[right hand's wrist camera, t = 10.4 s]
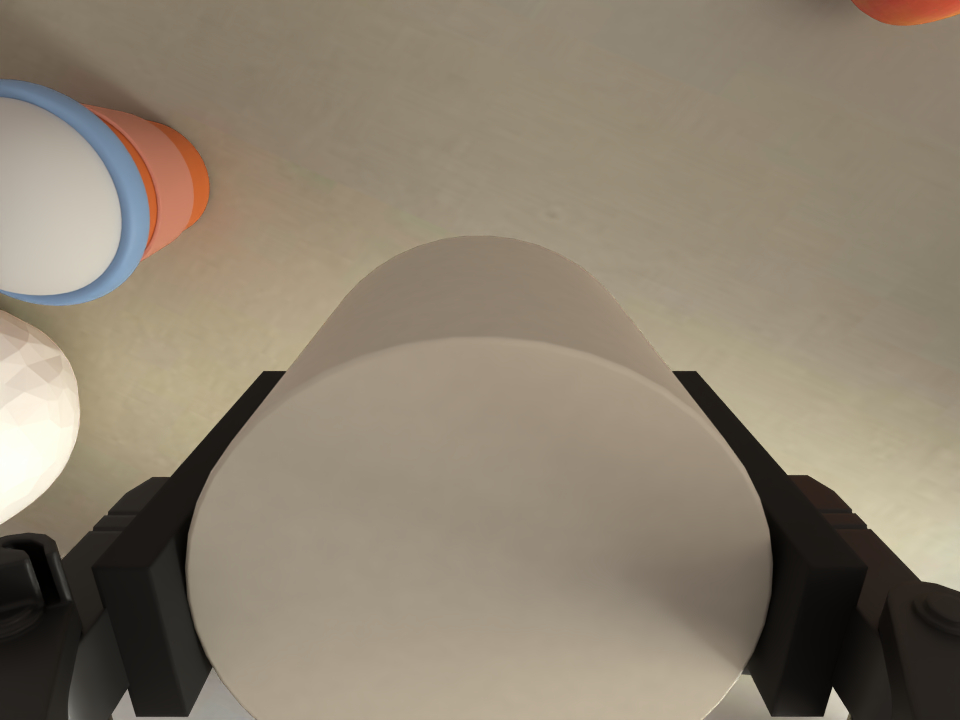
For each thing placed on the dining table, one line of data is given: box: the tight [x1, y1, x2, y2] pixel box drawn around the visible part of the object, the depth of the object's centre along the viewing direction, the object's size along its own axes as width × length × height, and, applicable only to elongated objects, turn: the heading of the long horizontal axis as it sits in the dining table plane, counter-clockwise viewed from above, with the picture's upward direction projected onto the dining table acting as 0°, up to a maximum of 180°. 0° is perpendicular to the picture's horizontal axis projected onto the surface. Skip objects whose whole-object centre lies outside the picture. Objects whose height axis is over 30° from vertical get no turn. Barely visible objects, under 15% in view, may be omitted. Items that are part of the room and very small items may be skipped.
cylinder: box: [185, 236, 773, 720], centre depth 12 cm, size 8×8×7 cm
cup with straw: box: [0, 79, 210, 306], centre depth 26 cm, size 9×9×18 cm
